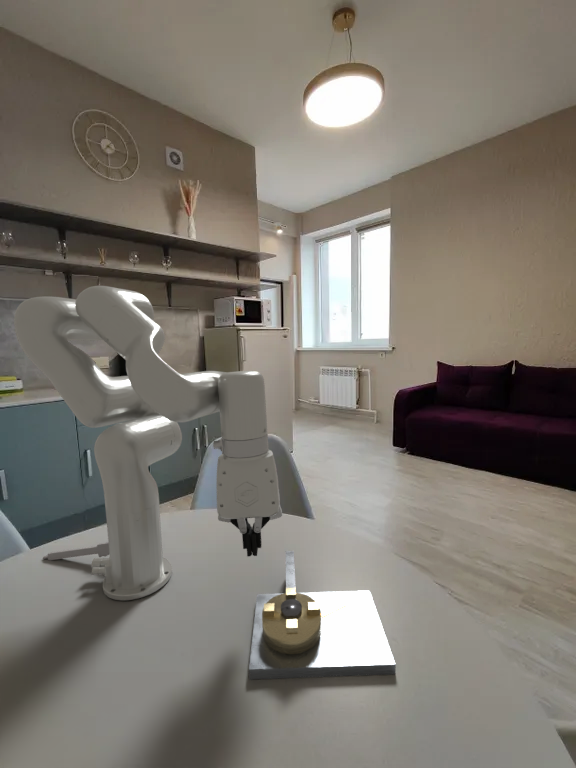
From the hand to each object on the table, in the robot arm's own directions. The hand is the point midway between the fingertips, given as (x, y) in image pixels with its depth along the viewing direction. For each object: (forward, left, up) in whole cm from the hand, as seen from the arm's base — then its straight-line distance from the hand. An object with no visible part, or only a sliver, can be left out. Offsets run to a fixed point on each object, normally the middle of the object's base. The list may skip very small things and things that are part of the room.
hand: (252, 551), depth 61 cm
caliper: (-38, +16, -11) cm, 43 cm away
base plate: (+10, -6, -11) cm, 16 cm away
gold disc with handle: (+6, -1, -9) cm, 11 cm away
